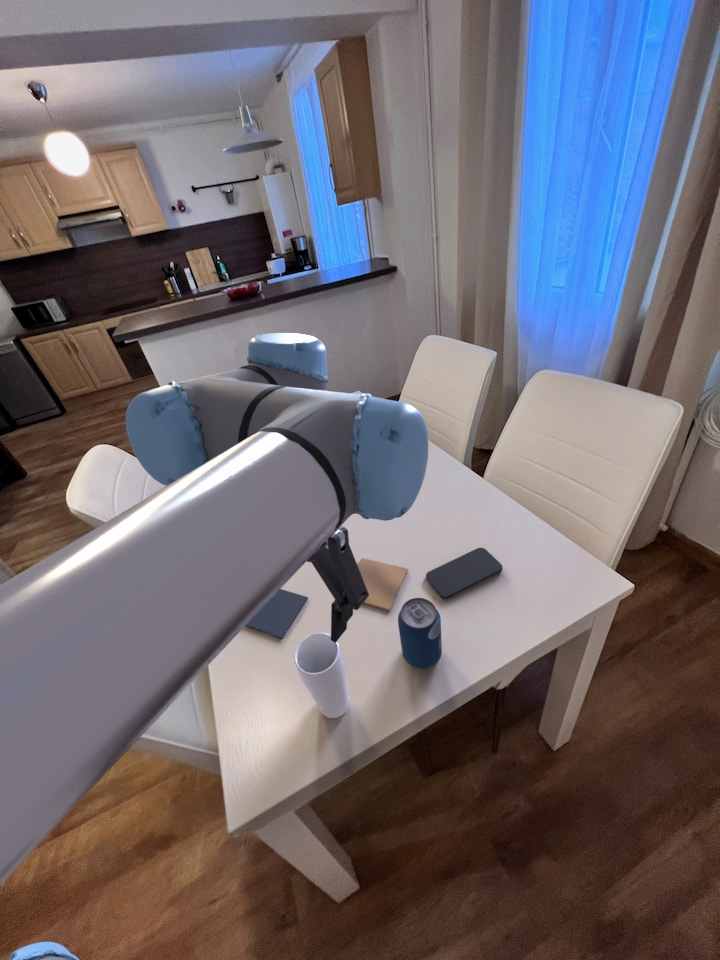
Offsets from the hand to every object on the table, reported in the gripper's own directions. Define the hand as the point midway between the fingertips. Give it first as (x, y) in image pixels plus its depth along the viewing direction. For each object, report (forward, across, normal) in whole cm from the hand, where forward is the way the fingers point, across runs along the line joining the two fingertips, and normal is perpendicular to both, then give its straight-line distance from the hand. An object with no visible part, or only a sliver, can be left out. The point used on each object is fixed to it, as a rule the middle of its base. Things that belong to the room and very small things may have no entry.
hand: (297, 612), depth 56 cm
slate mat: (+21, +17, -13) cm, 30 cm away
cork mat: (+17, +1, -27) cm, 32 cm away
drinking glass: (+21, -5, -3) cm, 22 cm away
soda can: (+18, -14, -17) cm, 28 cm away
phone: (+13, -14, -37) cm, 42 cm away
